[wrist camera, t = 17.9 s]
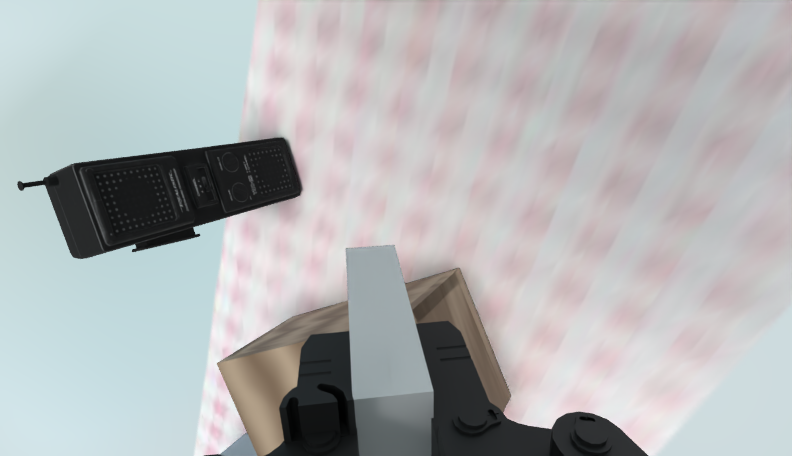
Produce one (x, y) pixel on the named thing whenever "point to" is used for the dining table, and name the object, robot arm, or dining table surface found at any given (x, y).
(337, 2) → the dining table surface
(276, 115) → the dining table surface
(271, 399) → the wooden cabinet
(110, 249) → the portable radio
